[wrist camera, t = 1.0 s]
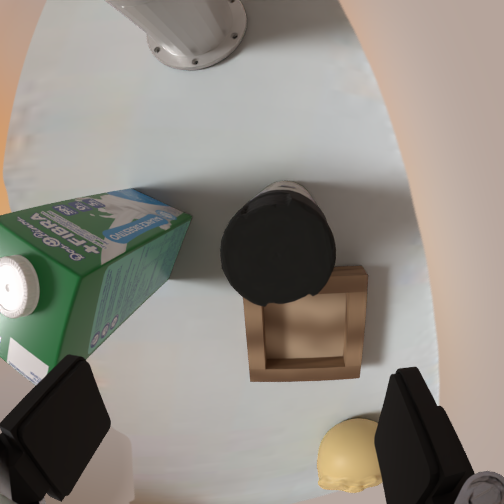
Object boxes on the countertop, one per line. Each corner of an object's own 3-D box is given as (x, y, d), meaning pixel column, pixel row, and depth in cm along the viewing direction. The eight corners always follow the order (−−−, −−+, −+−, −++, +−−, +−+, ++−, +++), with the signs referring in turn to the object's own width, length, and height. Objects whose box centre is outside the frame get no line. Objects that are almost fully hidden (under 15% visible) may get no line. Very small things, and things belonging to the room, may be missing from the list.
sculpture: (312, 457, 47) (313, 506, 36) (321, 410, 44) (325, 463, 33) (376, 454, 45) (385, 500, 35) (392, 407, 42) (409, 456, 32)
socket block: (245, 269, 39) (241, 279, 36) (361, 265, 37) (367, 274, 34) (253, 366, 43) (250, 381, 39) (355, 363, 41) (359, 378, 37)
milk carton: (193, 216, 38) (57, 290, 14) (168, 280, 41) (49, 398, 17) (130, 187, 38) (-33, 222, 14) (111, 250, 41) (-32, 330, 17)
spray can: (319, 231, 37) (349, 297, 18) (263, 244, 38) (235, 321, 19) (306, 174, 36) (325, 180, 16) (248, 188, 37) (202, 211, 17)
